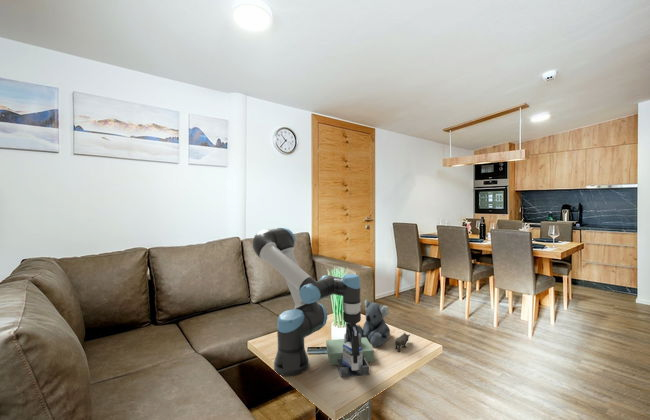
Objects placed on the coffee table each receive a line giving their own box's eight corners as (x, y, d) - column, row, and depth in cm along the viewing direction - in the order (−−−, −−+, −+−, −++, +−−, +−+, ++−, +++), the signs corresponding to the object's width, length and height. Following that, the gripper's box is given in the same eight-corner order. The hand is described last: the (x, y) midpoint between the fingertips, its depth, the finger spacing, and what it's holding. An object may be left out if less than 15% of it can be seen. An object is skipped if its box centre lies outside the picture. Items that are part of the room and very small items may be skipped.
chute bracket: (340, 377, 121) (340, 369, 121) (336, 365, 130) (336, 357, 130) (369, 374, 123) (369, 366, 123) (364, 363, 132) (363, 355, 131)
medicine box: (342, 363, 128) (342, 344, 128) (349, 360, 131) (349, 340, 131) (355, 371, 122) (355, 350, 122) (362, 367, 125) (362, 347, 125)
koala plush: (351, 338, 157) (350, 301, 156) (372, 327, 169) (371, 293, 168) (377, 349, 144) (377, 309, 144) (398, 337, 156) (398, 301, 156)
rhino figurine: (413, 342, 151) (412, 331, 150) (400, 353, 140) (400, 340, 140) (405, 340, 153) (405, 328, 153) (392, 350, 143) (392, 338, 143)
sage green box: (330, 365, 131) (329, 345, 130) (326, 350, 144) (326, 332, 144) (374, 361, 133) (373, 341, 133) (366, 347, 146) (366, 329, 146)
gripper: (367, 320, 116) (367, 377, 116) (354, 302, 137) (355, 350, 138) (348, 321, 115) (348, 379, 115) (338, 303, 136) (339, 351, 137)
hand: (352, 363), depth 126 cm, fingers closed on medicine box, 9 cm apart
